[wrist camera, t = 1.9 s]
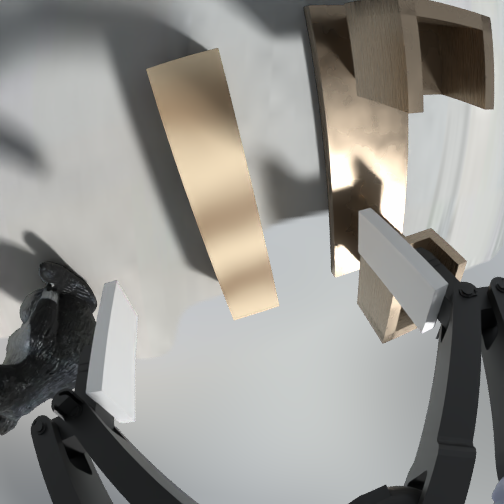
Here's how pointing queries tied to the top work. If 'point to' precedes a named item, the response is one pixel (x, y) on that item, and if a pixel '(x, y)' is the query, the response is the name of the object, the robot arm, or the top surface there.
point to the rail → (215, 176)
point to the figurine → (46, 343)
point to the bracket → (388, 119)
